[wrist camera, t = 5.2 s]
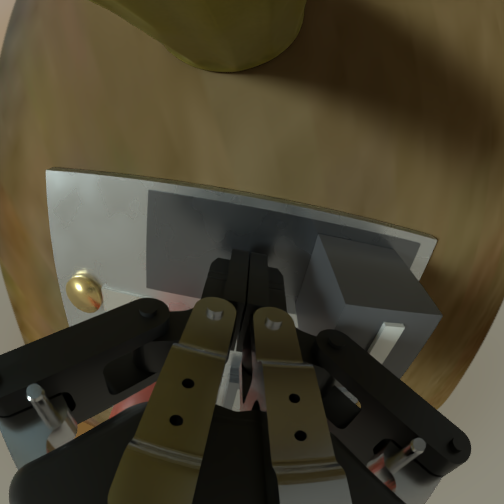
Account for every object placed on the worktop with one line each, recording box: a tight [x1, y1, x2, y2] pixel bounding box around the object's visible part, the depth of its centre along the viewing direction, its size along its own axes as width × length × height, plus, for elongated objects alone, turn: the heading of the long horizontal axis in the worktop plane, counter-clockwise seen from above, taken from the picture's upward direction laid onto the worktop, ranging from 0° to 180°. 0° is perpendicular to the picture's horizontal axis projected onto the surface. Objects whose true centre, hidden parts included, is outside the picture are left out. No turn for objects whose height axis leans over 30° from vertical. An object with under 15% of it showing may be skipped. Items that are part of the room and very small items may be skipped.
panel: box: [46, 167, 437, 412], centre depth 16 cm, size 20×20×2 cm
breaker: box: [295, 234, 443, 387], centre depth 11 cm, size 4×4×5 cm
